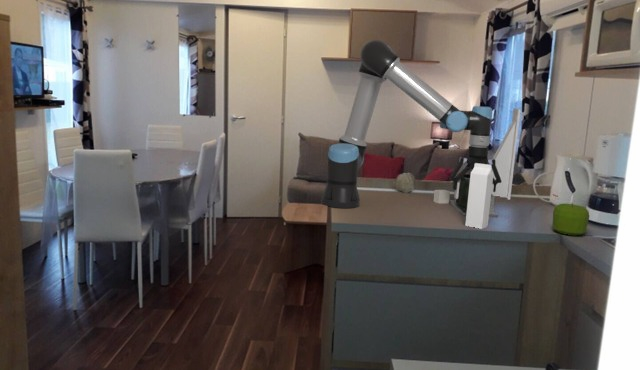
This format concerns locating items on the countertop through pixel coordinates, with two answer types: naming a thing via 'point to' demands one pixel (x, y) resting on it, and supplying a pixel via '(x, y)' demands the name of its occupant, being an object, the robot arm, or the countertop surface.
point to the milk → (479, 196)
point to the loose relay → (441, 196)
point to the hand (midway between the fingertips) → (473, 199)
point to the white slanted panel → (507, 158)
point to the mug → (464, 190)
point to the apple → (570, 219)
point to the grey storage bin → (464, 209)
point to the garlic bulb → (405, 182)
